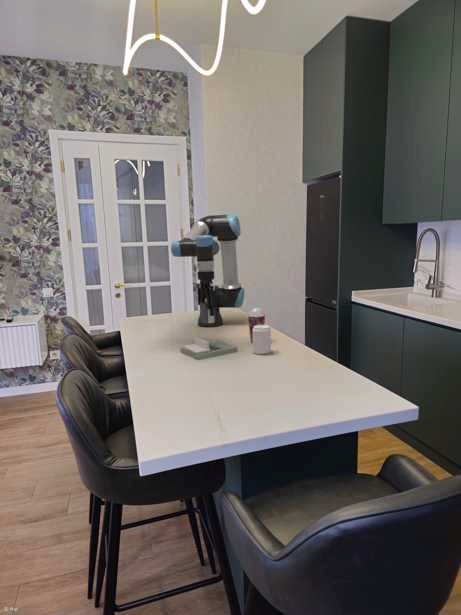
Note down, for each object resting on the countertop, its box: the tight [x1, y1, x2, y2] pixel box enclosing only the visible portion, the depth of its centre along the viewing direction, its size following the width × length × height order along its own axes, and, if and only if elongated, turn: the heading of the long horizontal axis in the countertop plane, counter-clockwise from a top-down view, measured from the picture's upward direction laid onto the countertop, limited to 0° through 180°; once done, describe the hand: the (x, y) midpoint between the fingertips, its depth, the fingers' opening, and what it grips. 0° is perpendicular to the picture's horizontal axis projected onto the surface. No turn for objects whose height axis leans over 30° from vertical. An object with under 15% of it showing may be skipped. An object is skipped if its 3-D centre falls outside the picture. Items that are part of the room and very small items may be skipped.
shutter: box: [181, 337, 211, 354], centre depth 180 cm, size 7×13×4 cm, turn 35°
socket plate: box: [180, 340, 239, 361], centre depth 184 cm, size 21×16×2 cm
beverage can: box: [252, 324, 272, 355], centre depth 180 cm, size 8×8×12 cm
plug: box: [199, 298, 216, 324], centre depth 181 cm, size 5×5×11 cm
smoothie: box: [247, 301, 266, 343], centre depth 198 cm, size 8×8×20 cm
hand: (207, 321), depth 182 cm, fingers closed on plug, 5 cm apart
